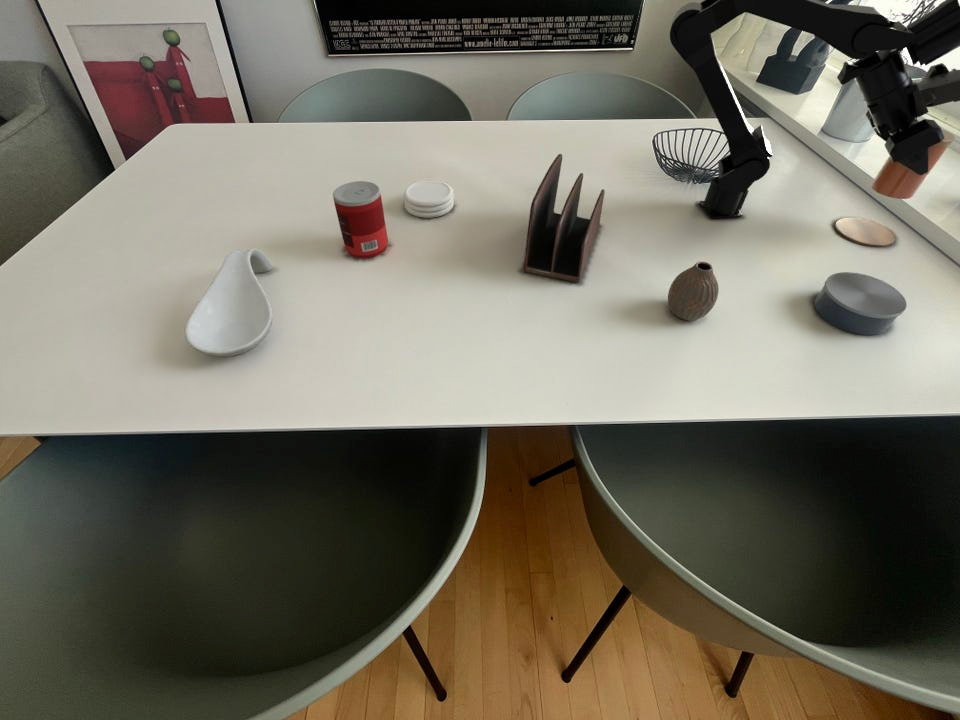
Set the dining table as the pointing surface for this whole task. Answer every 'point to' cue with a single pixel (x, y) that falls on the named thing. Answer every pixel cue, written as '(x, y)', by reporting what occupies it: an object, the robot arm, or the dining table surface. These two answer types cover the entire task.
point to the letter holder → (559, 230)
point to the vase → (693, 292)
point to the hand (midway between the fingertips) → (918, 165)
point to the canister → (907, 173)
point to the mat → (865, 232)
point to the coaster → (428, 199)
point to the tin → (859, 303)
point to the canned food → (361, 219)
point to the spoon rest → (232, 308)
